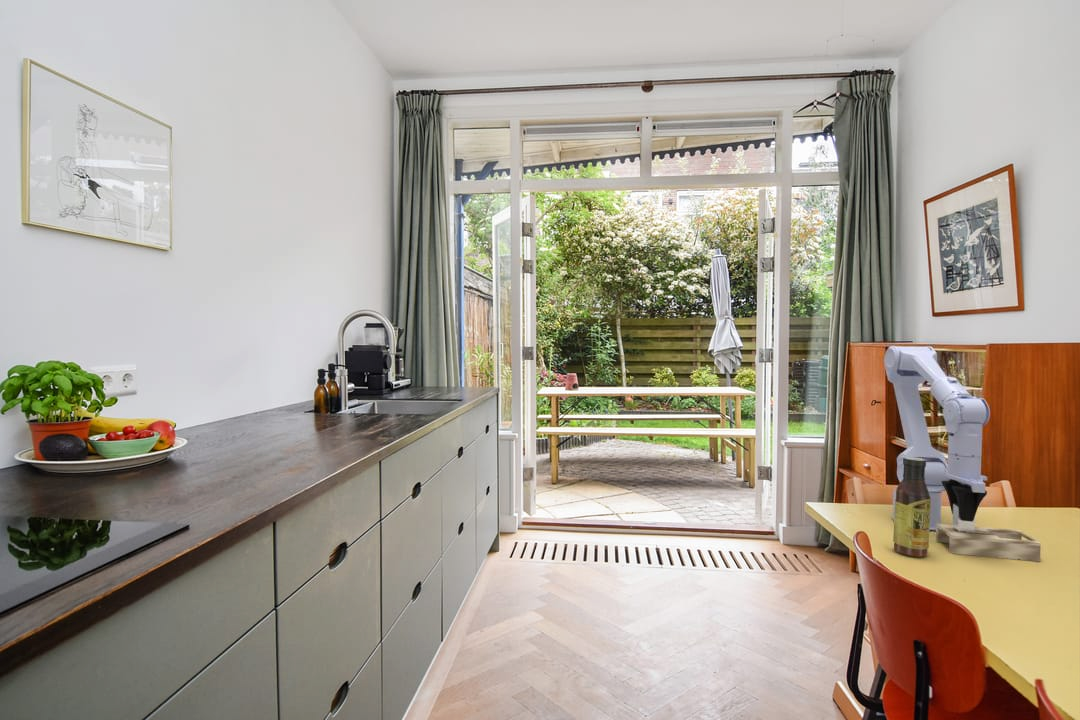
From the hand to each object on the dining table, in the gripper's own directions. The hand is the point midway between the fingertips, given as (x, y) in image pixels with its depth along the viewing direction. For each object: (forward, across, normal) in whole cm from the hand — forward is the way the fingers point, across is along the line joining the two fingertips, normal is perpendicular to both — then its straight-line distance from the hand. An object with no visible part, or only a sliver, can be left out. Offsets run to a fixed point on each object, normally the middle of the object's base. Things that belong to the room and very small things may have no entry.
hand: (962, 517), depth 122 cm
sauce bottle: (+7, -6, +11) cm, 15 cm away
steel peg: (+7, 0, 0) cm, 7 cm away
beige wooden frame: (+7, 0, -5) cm, 8 cm away
